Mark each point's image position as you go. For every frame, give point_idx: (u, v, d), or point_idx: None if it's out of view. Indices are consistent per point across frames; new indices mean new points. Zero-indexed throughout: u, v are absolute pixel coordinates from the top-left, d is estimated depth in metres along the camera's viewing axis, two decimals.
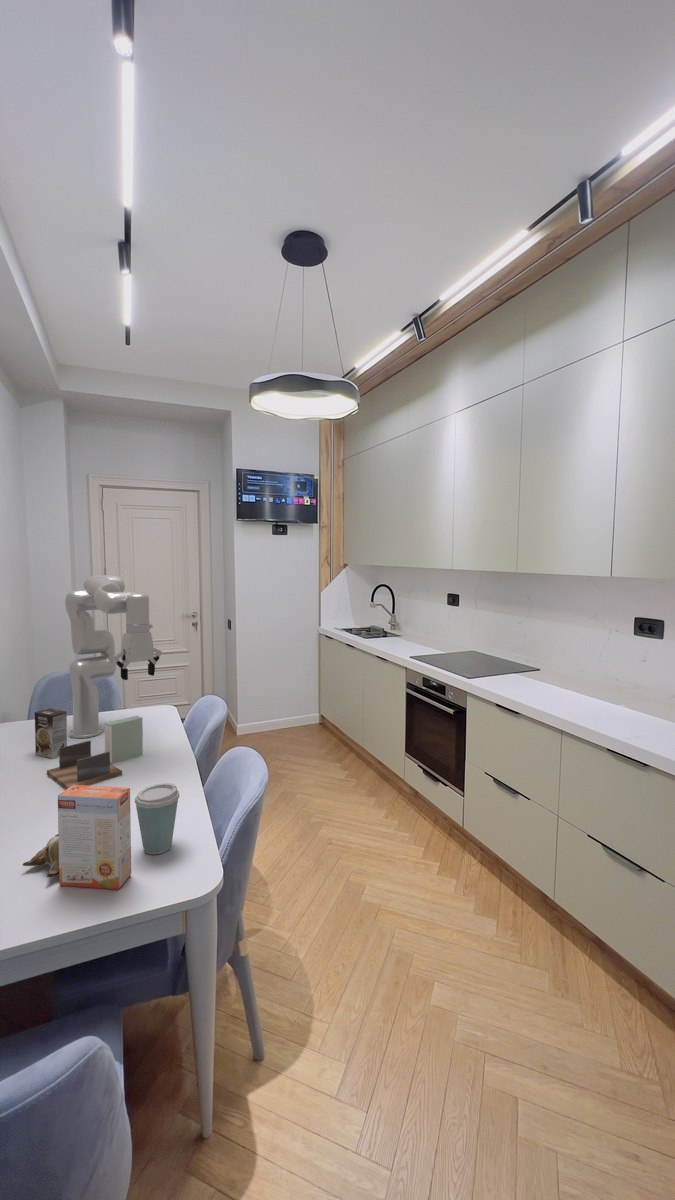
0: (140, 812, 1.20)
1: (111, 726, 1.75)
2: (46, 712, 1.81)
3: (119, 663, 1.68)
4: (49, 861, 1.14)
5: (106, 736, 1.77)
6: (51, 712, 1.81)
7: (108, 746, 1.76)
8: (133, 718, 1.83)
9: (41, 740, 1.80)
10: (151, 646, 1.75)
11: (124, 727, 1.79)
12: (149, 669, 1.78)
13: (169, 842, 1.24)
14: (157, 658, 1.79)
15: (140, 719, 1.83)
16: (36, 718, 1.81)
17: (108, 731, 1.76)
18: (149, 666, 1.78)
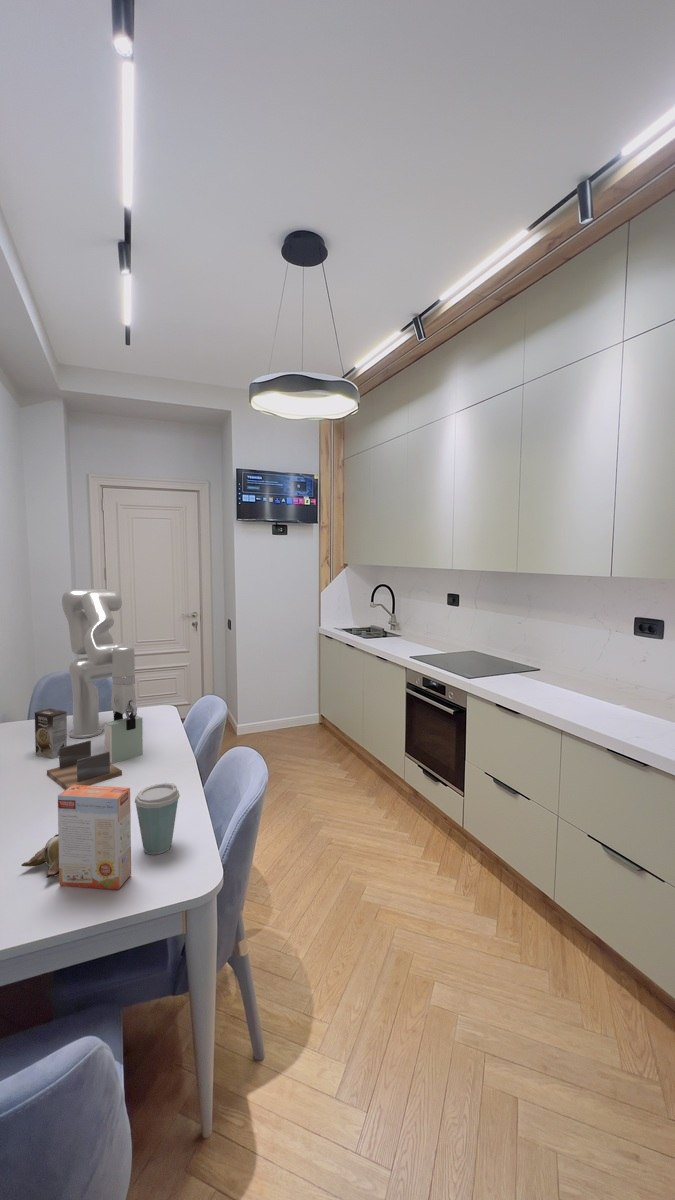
0: (140, 812, 1.20)
1: (111, 726, 1.75)
2: (46, 712, 1.81)
3: None
4: (48, 861, 1.14)
5: (106, 736, 1.77)
6: (51, 712, 1.81)
7: (108, 746, 1.76)
8: None
9: (41, 740, 1.80)
10: None
11: (124, 728, 1.79)
12: (117, 718, 1.83)
13: (169, 842, 1.24)
14: None
15: (140, 719, 1.83)
16: (36, 718, 1.81)
17: (108, 731, 1.76)
18: (117, 715, 1.83)
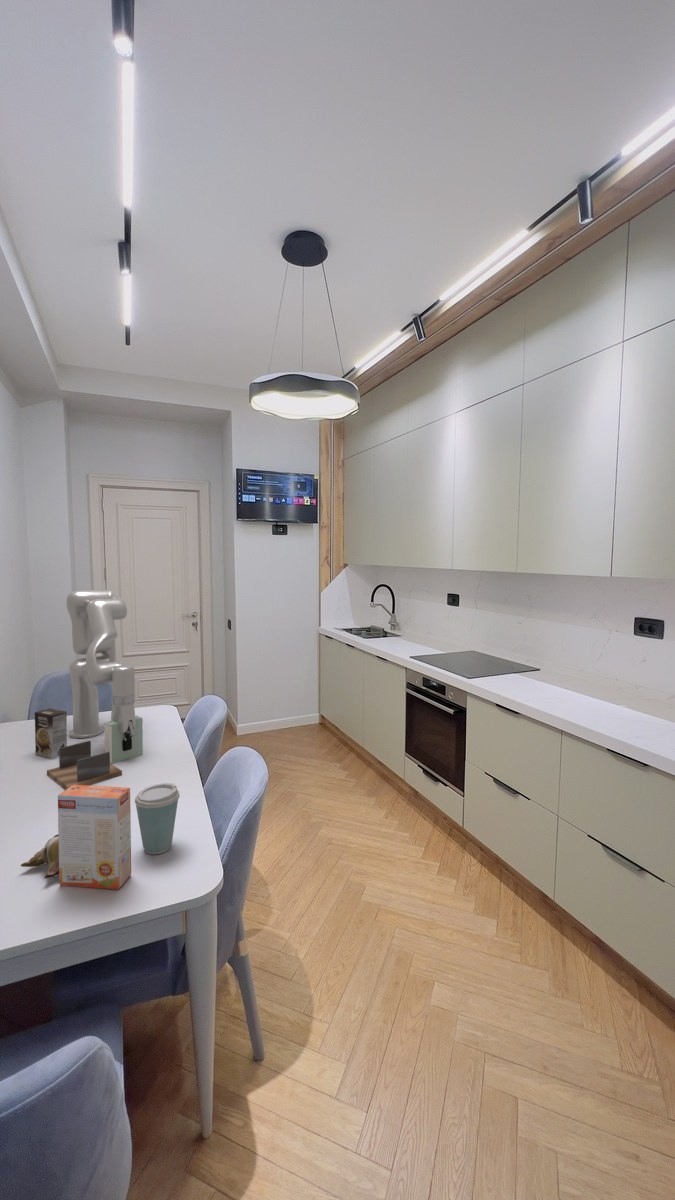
0: (140, 812, 1.20)
1: (111, 726, 1.75)
2: (46, 712, 1.81)
3: None
4: (47, 862, 1.14)
5: (106, 736, 1.77)
6: (51, 712, 1.81)
7: (108, 746, 1.76)
8: None
9: (41, 740, 1.80)
10: None
11: None
12: None
13: (169, 842, 1.24)
14: None
15: (140, 719, 1.83)
16: (36, 718, 1.81)
17: (108, 731, 1.76)
18: None
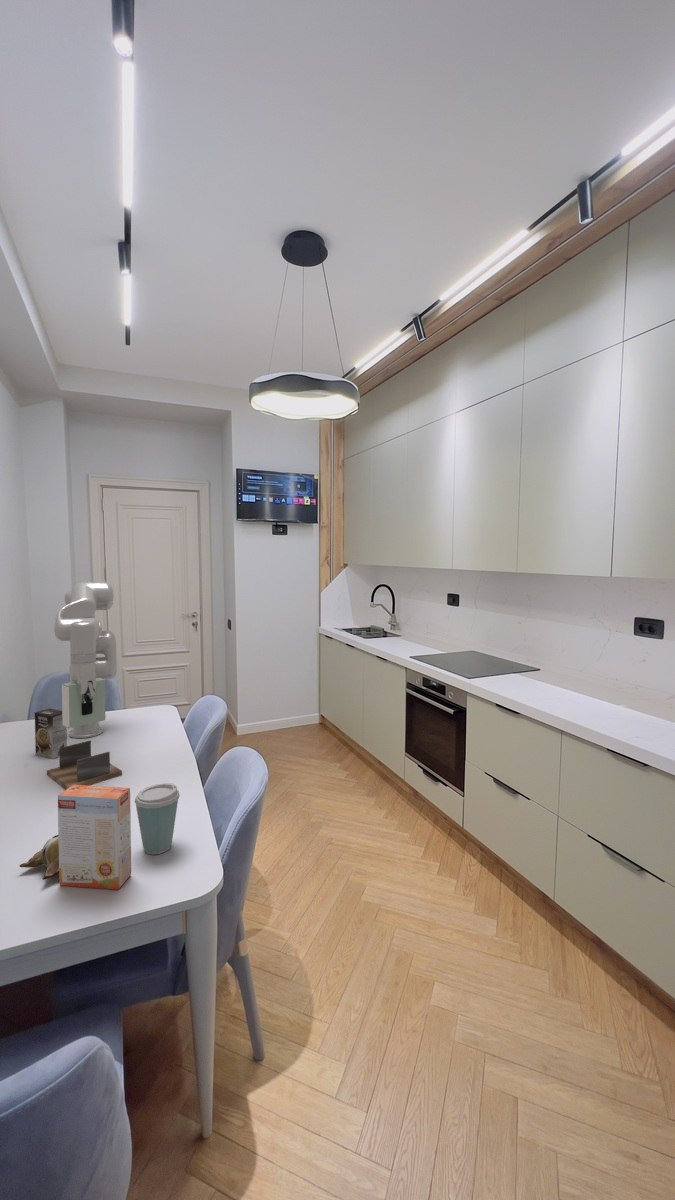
0: (140, 812, 1.20)
1: (68, 686, 1.59)
2: (46, 712, 1.81)
3: None
4: (46, 863, 1.14)
5: (63, 698, 1.61)
6: (51, 712, 1.81)
7: (65, 709, 1.60)
8: None
9: (41, 740, 1.80)
10: None
11: None
12: None
13: (169, 842, 1.24)
14: None
15: (102, 681, 1.67)
16: (36, 718, 1.81)
17: (65, 692, 1.60)
18: None
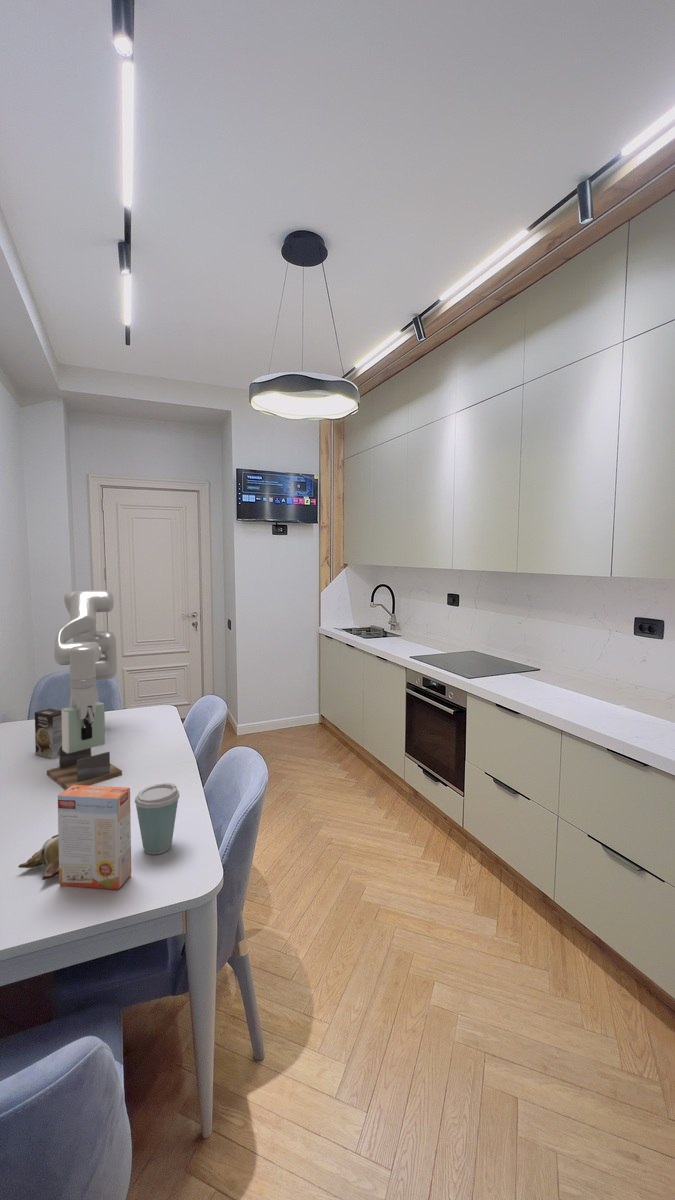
0: (140, 812, 1.20)
1: (68, 712, 1.59)
2: (46, 712, 1.81)
3: None
4: (45, 863, 1.13)
5: (63, 723, 1.61)
6: (51, 712, 1.81)
7: (65, 734, 1.60)
8: None
9: (41, 740, 1.80)
10: None
11: None
12: None
13: (169, 842, 1.24)
14: None
15: (102, 705, 1.67)
16: (36, 718, 1.81)
17: (65, 718, 1.60)
18: None
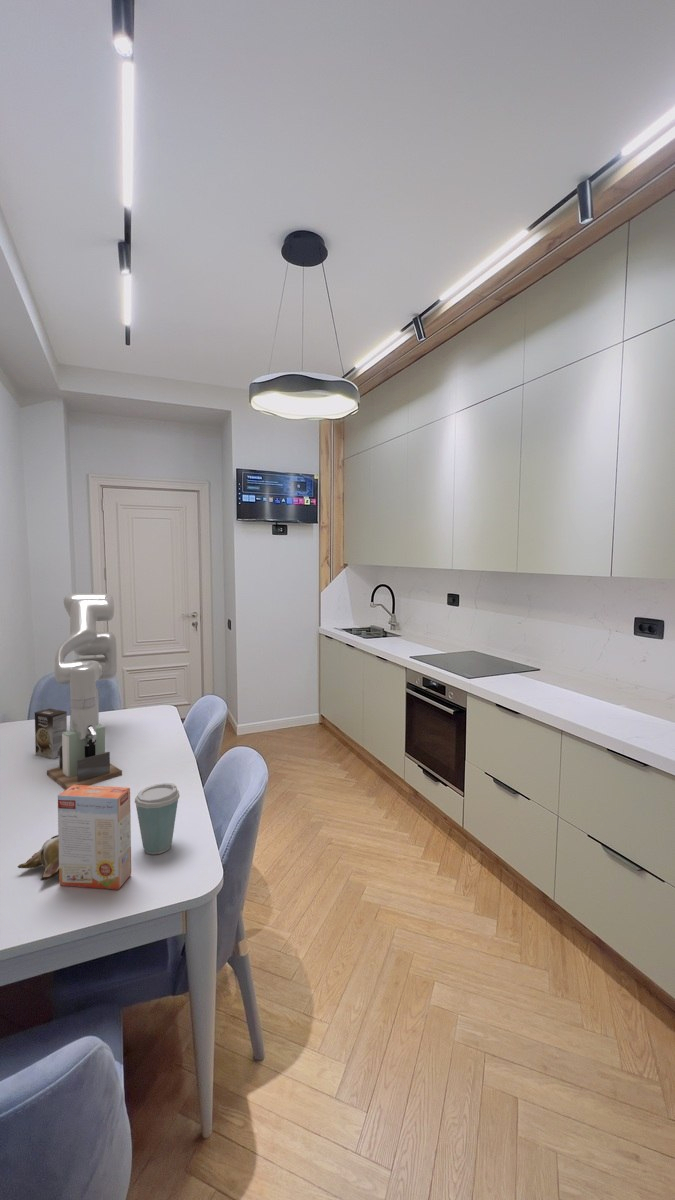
0: (140, 812, 1.20)
1: (68, 736, 1.60)
2: (46, 712, 1.81)
3: None
4: (44, 864, 1.13)
5: (63, 747, 1.62)
6: (51, 712, 1.81)
7: (65, 758, 1.61)
8: None
9: (41, 740, 1.80)
10: None
11: None
12: None
13: (169, 842, 1.24)
14: None
15: (102, 728, 1.68)
16: (36, 718, 1.81)
17: (65, 742, 1.61)
18: None
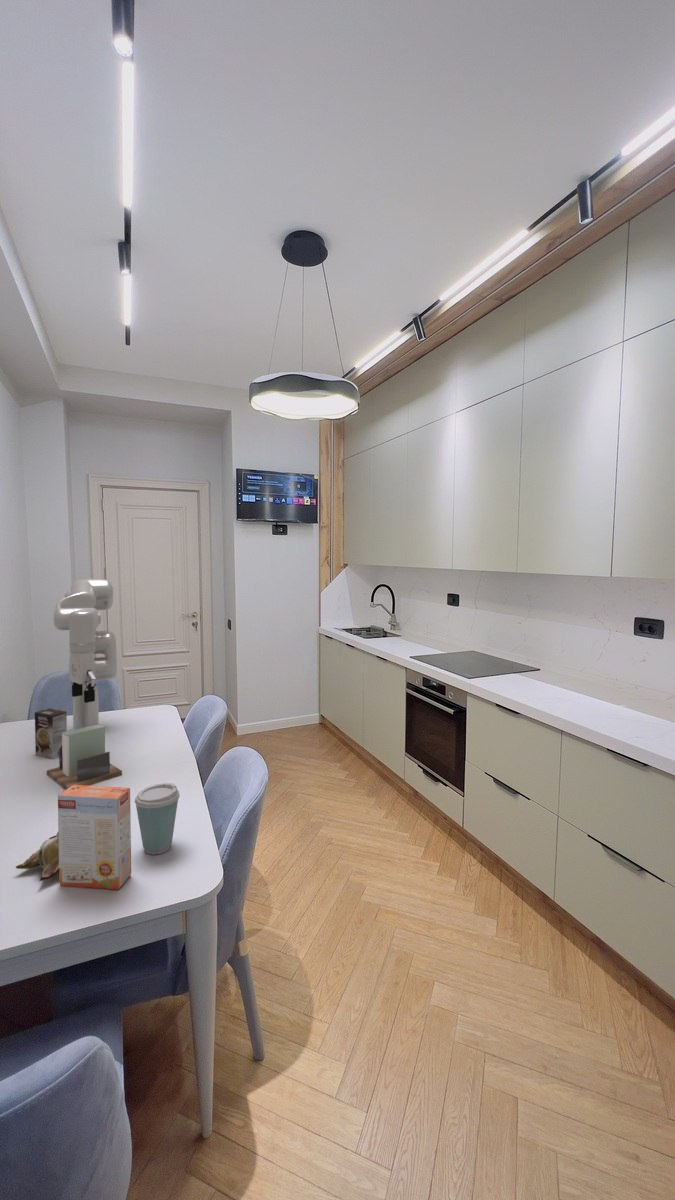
0: (140, 812, 1.20)
1: (68, 736, 1.60)
2: (46, 712, 1.81)
3: None
4: (42, 864, 1.13)
5: (63, 747, 1.62)
6: (51, 712, 1.81)
7: (65, 758, 1.61)
8: (94, 727, 1.68)
9: (41, 740, 1.80)
10: None
11: (83, 738, 1.64)
12: (76, 690, 1.67)
13: (169, 842, 1.24)
14: None
15: (102, 728, 1.68)
16: (36, 718, 1.81)
17: (65, 742, 1.61)
18: (76, 687, 1.67)
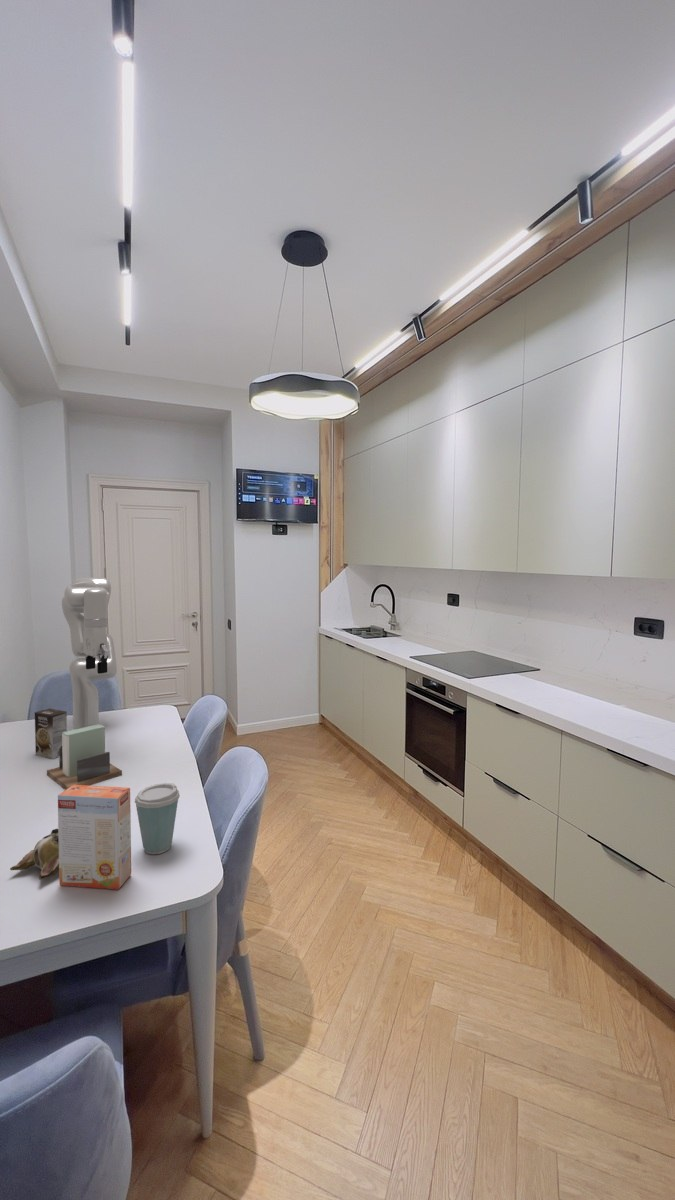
0: (140, 812, 1.20)
1: (68, 736, 1.60)
2: (46, 712, 1.81)
3: None
4: (39, 864, 1.13)
5: (63, 747, 1.62)
6: (51, 712, 1.81)
7: (65, 758, 1.61)
8: (94, 727, 1.68)
9: (41, 740, 1.80)
10: None
11: (83, 738, 1.64)
12: (90, 663, 1.81)
13: (169, 842, 1.24)
14: None
15: (102, 728, 1.68)
16: (36, 718, 1.81)
17: (65, 742, 1.61)
18: (90, 660, 1.81)
